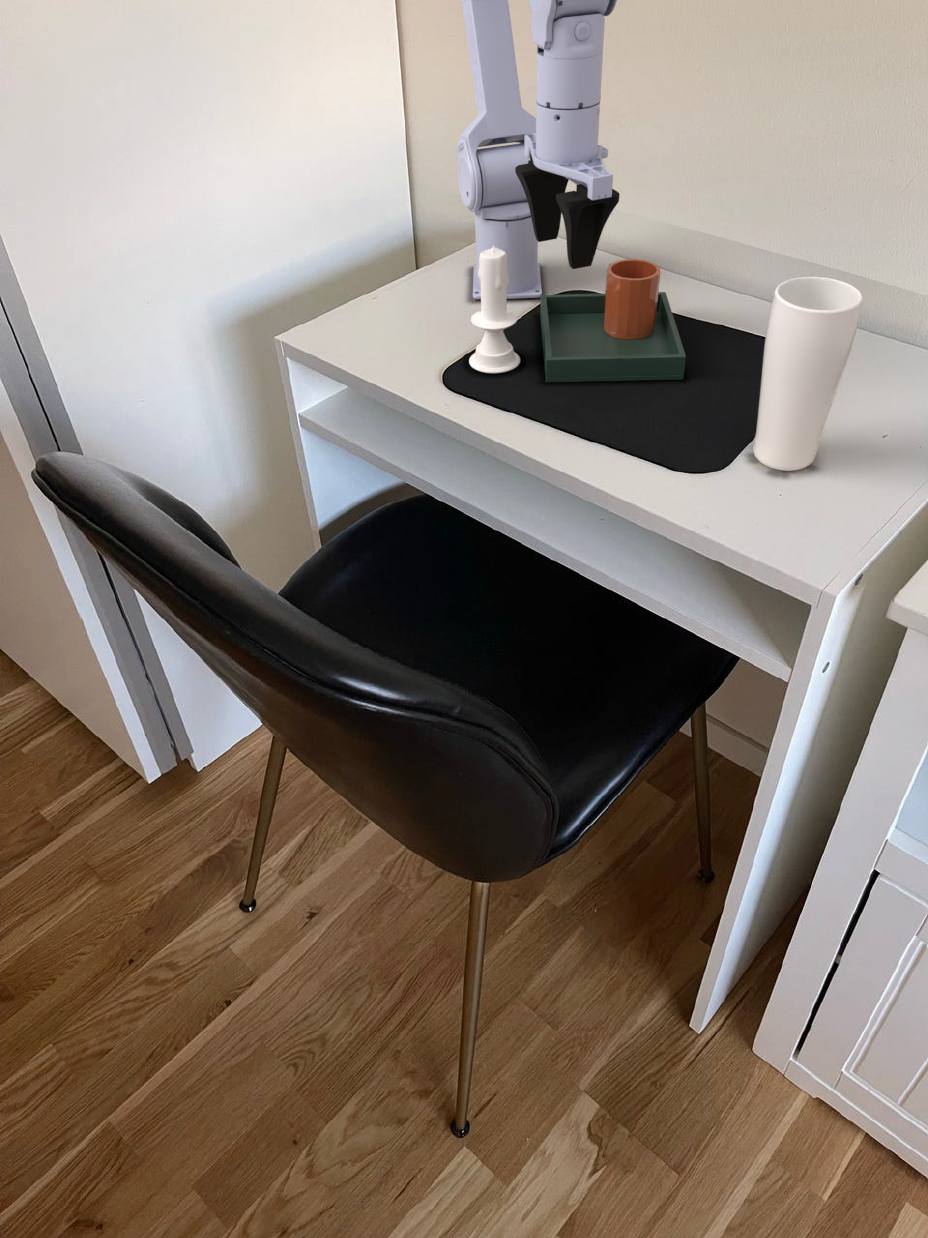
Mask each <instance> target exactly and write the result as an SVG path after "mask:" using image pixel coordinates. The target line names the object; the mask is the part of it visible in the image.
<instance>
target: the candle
mask: <svg viewBox="0 0 928 1238" xmlns="http://www.w3.org/2000/svg"><path fill="white" fill-rule="evenodd" d="M478 277H479V279H480V281H481V299H480V308H481V310H479V311H476V312H475V313H474V314H472V315H471V317H470V322H471V323H472V325H473V326H475V327H476V328H479V329H481V330H483V331H485V332H484V335H483V337H482V339H481V342H479V343H478V344H477V345H476V348H475V352H474V353H472V354H471V355H470V357H469V359H468V363H469V366H470V367H471V368H472V369H474V370H476V371H478V372H480V373H485V374H503V373H508V372H511V371H513V370H515V369H516V368H517V367H518V366H519V365H520V364H521V357H520V355H519V354H518V353H517V352H515V351H514V350H515V349H514V346H513V345H512V343H510V342H509V341H508V339H507V337H506V335H505V332H504V330H505V329H508V328H509V327H512V326H513V325H515V324H516V323H517V321H518V316H517V314H516V313H515V312H513V311H512V310H509V309H507V306H508V305H507V303H508V302H507V300H508V299H507V285H508V282H509V278H508V271H507V254H506V252H504V251H502V250H500V249H498V248H495V246H494V245H493V248H491V249H488V250H485V251H483V252H481V253H480V258H479V272H478Z"/></svg>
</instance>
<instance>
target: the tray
mask: <svg viewBox="0 0 928 1238" xmlns="http://www.w3.org/2000/svg"><path fill="white" fill-rule="evenodd" d="M604 308H605V293H574V294H570V293H568V294H567V293H566V294H542V295H541V297H540V312H539V314H540V316H539V317H540V327H541V339H542V341H541V342H542V351H543V363H544V376H545V383H582V382H583V383H584V382H586V383H588V382H590V383H591V382H632V381H675V380H676V381H680V380H684V377H685V376H684V375H685V369H686V361H687V355H686V351H685V349H684V347H683V346H684V345H683V343H682V339H681V336H680V334H679V330H678V327H677V324H676V320H675V318H674V314H673V311H672V308H671V305H670V302H669V298H668V295H667V293H666V291H658V301H657V310H656V320H655V326H654V331H653V333H652V334H651V335H649V336H647V337H645V338H641V339H634V340H626V339H619V338H615V337H612V336H610V335H608V334H607V333H606V332H605V331H604Z"/></svg>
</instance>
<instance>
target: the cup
mask: <svg viewBox="0 0 928 1238" xmlns="http://www.w3.org/2000/svg"><path fill="white" fill-rule="evenodd" d="M661 271H662V270H661V268H660V266H659V265H658V264H657V263H655V262H653V261H650V260H646V259H640V258H625V259H620V260H616V261H614V262H611V263H610V264H609V265H608V266H607V267H606V278H605V279H606V282H605V293H604V294H605V308H604V331H605V332H606V333H607V334H608V335H610V336H612V337H615V338H619V339H626V340H634V339H641V338H645V337H647V336H649V335H651V334H652V333H653V331H654V326H655V320H656V310H657V301H658V292H660V290H659V289H660V281H661V280H660V279H661Z"/></svg>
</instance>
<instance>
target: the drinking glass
mask: <svg viewBox="0 0 928 1238" xmlns="http://www.w3.org/2000/svg"><path fill="white" fill-rule="evenodd" d="M863 301H864V297H863V293H862V292H861V291H860V290H859V289H858V288H856V287H855V286H853V285H852V284H850V283H848V282H845V281H842V280H838V279H835V278H830V277H823V276H800V277H794V278H791V279H787V280H785V281H783V282H781V283H779V285H777V286H776V288H775V290H774V293H773V298H772V302H771V306H770V309H769V310H770V311H769V315H768V319H767V324H766V332H765V340H764V346H763V355H762V365H761V366H762V367H761V379H760V387H759V389H760V390H759V401H758V408H757V420H756V430H755V435H754V440H753V446H752V447H753V448H752V451H753V455H754V457H755V459H757V460H758V462H759V463H761V464H762V465H764V466H766V467H767V468H770V469H773V470H777V471H784V472H792V471H799V470H803V469H805V468H807V467H809V466H810V465H811V464H812V463H813V462H814V461H815V459H816V456H817V453H818V449H819V444H820V441H821V438H822V435H823V432H824V429H825V426H826V423H827V420H828V418H829V414H830V411H831V408H832V406H833V403H834V400H835V397H836V394H837V391H838V389H839V386H840V383H841V381H842V377H843V375H844V371H845V369H846V366H847V363H848V360H849V358H850V354H851V351H852V348H853V345H854V341H855V338H856V333H857V330H858V325H859V321H860V316H861V310H862V305H863Z"/></svg>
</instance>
